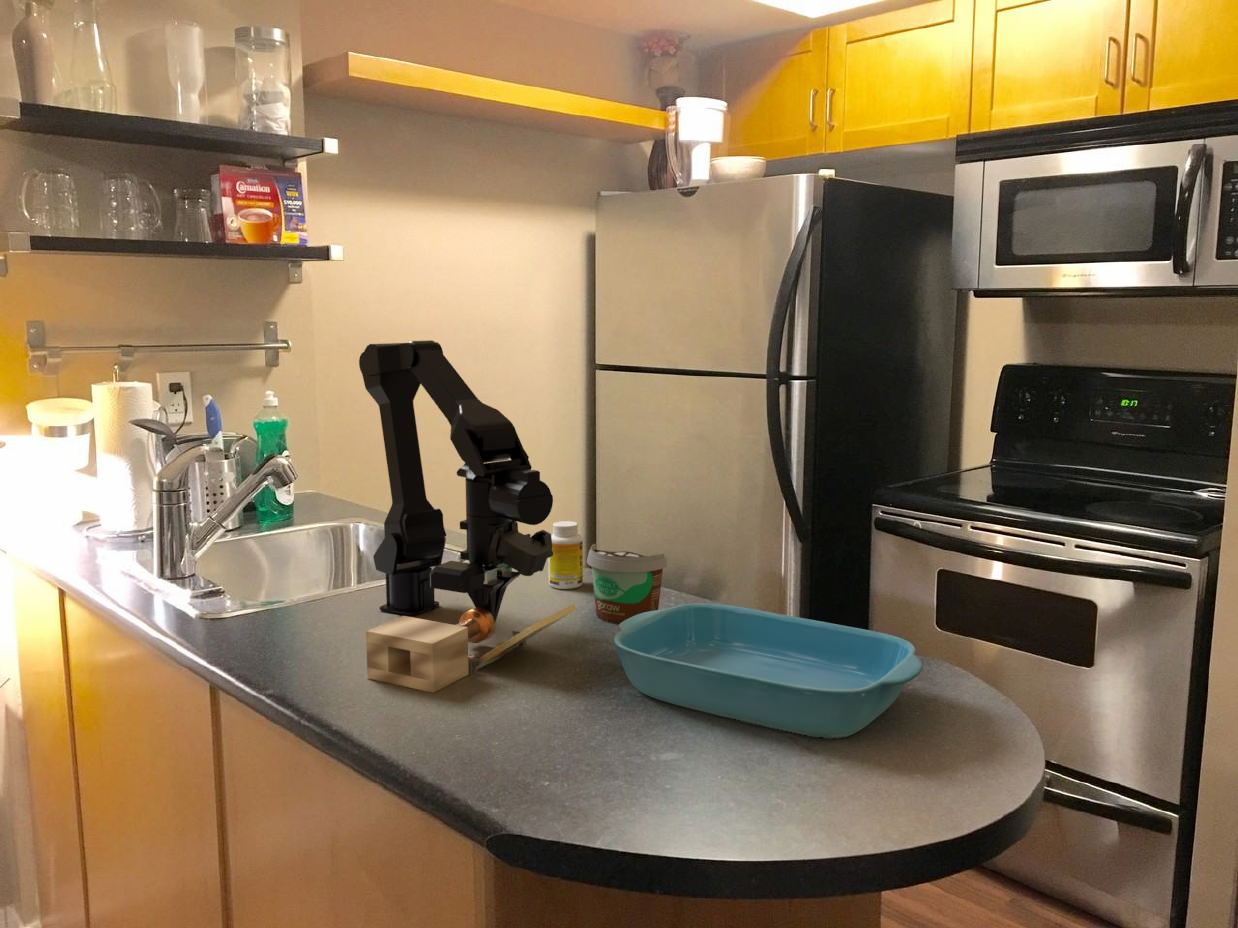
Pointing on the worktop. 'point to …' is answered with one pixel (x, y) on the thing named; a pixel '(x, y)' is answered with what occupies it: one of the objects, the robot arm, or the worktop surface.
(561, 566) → the supplement bottle
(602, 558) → the food container
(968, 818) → the worktop surface
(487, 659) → the plate
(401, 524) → the robot arm
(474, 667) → the keeper bracket
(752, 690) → the casserole dish
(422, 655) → the block
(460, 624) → the hitch pin
